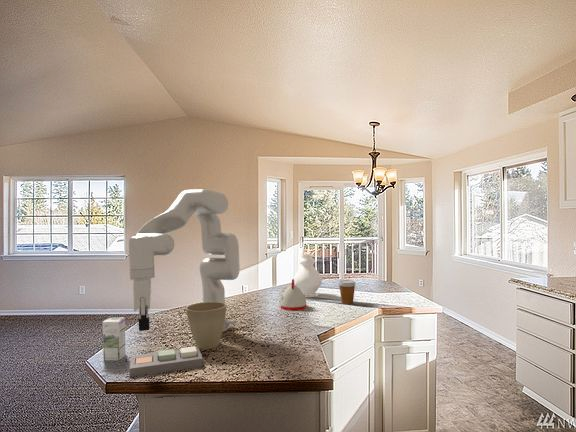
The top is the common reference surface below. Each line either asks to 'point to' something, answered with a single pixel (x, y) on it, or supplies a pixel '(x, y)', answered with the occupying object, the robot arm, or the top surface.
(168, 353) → the sage button
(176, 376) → the top surface
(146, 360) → the terracotta button
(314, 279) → the decorative vase
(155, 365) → the button panel
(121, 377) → the top surface
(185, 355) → the cream button
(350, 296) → the disposable coffee cup
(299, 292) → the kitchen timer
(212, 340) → the plant pot
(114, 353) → the syrup box
